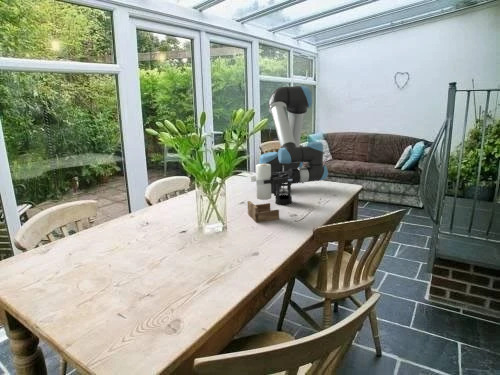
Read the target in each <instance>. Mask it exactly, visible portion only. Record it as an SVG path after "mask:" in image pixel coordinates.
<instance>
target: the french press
mask: <svg viewBox="0 0 500 375" xmlns="http://www.w3.org/2000/svg"><path fill="white" fill-rule="evenodd" d="M279 163H280V162H279ZM282 166H283V171H280V172H282V173H283V172H286V173H288V172H287V171H284V163H282ZM291 185H293V184H291V183H283V184H277V185H274V193H273V196H274V198H275V200H274V203H275V204H276V205H277V206H289V205H290V206H291V205H292V204H293V199H292V198H293V197H292V195H291V194H292V190H291V189H292V186H291ZM279 186H281V187H282V189H281V190H279ZM285 187H286V189H285ZM276 189H277V191H276Z"/></svg>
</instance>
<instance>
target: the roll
mask: <svg viewBox="0 0 500 375" xmlns="http://www.w3.org/2000/svg"><path fill="white" fill-rule="evenodd" d="M255 173H256V174H255V176H256V179H265V178H270V177H271V165H270V164H259V163H258V164H255ZM256 199H257V200H259V201H260V200H263V201H264V200H265V201H266V200H270V199H272V193H271V184H265V185H256Z"/></svg>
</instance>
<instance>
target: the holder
mask: <svg viewBox="0 0 500 375" xmlns="http://www.w3.org/2000/svg"><path fill="white" fill-rule="evenodd" d="M247 214H248V216H249V218H251V219H252V220H253V222H255V223H262V222H268V221H276V220H279V219H280V210H279V209H273V210H271V203H270V202H269V203H267V202H266V203H261V204H259V203H258V204H254V203H253V202H252V201H250V200H247Z"/></svg>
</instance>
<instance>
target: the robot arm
mask: <svg viewBox="0 0 500 375" xmlns="http://www.w3.org/2000/svg"><path fill="white" fill-rule="evenodd" d="M267 105H268V106H267V107H268V111H269V114H271V115H272V119H273V124H274V127H275V130H276V135H277V139H278V141H279V146H280V148H278V151H270V152H266V153H262V154H261V155H259V161H258V164H270V165H271V177H270V178H265V179H256V175H251V176H250V182H253V183H254V182H256V184H255V186H257V185H265V184H271V194H272V193H273V194H274V185H277V184H283V183H284V184H287V183H291V184H292V185H294V184H295V185H296V184H304V183H309V182H319V181H324V180H326V179H327V178H328V175H329V170H328V167H327V166H326V165H324V144H323V142H321V141H309V142H308V143H307V145H306V146H301V145H300V144H301V139H302V138H301V136H302V130H303V129H302V128H303V122H304V115H305V114H307V111H308V109H309V108H311V107H312V105H313V96H312V92H311V89H310V88H309V86H304V85H303V86H302V85H298V86H295V85H294V86H293V85H292V86H280V87H277V88H276V89H275V90H273V92H271V94H270V96H269V98H268V101H267ZM279 162H280V163H279ZM282 163H284V171H287V172H288V173H286V172H283V173H282V172H280V171H283V166H282ZM304 163H306V164H307V165H306V166H304ZM279 190H282V186H279ZM276 191H277V189H276Z"/></svg>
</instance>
